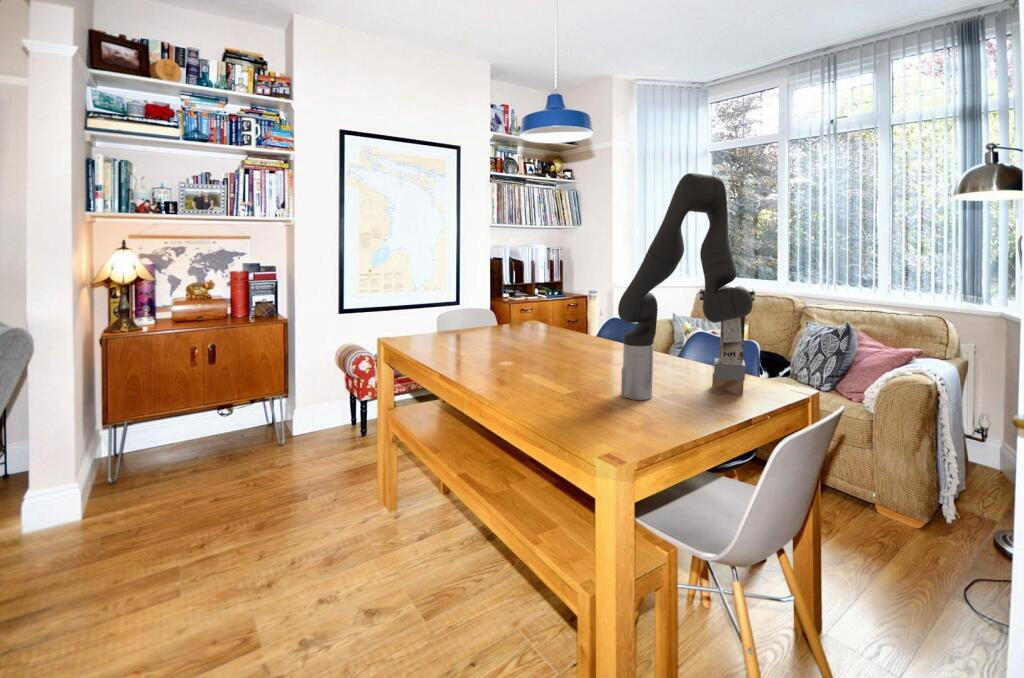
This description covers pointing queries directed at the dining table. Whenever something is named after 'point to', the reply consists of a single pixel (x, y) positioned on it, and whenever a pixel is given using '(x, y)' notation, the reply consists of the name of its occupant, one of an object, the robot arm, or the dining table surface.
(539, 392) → the dining table surface
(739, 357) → the coffee box
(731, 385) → the slab bottom
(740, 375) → the slab top
